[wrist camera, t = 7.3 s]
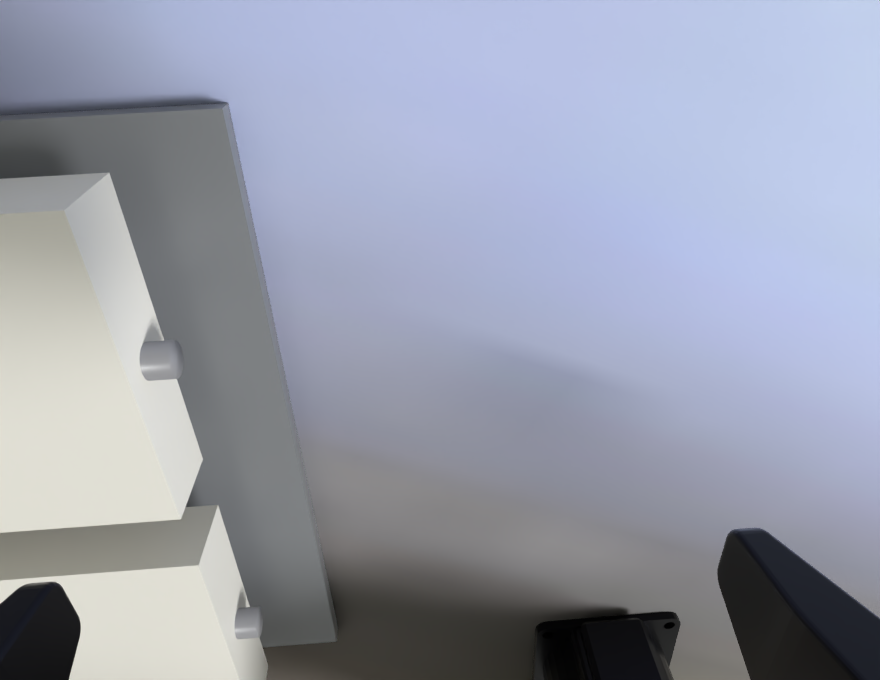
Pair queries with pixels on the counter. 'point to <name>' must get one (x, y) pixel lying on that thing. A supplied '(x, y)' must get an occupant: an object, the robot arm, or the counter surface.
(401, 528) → the counter surface
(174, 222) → the switch base
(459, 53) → the counter surface
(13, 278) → the rocker
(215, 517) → the block
